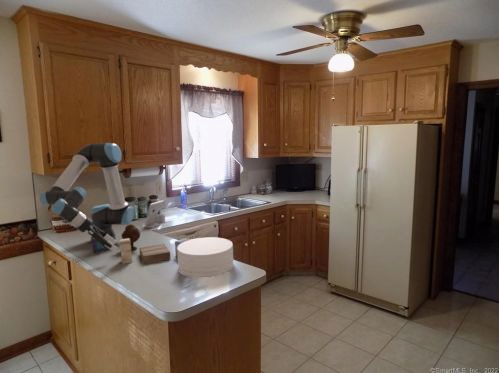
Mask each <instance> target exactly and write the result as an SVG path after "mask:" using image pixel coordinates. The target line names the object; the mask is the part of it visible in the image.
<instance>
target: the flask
mask: <svg viewBox="0 0 499 373" xmlns="http://www.w3.org/2000/svg"><path fill="white" fill-rule="evenodd" d="M91 243H92V251H93V254H99V253H100V254H101V253H103V252H107V251H109V250H110V249H109V248H108V247H106V246H105V245H104V246H102V244H101V243H99V242H98V241H97V240H96V239H95V238H92V242H91Z"/></svg>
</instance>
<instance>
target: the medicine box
mask: <svg viewBox="0 0 499 373" xmlns="http://www.w3.org/2000/svg"><path fill="white" fill-rule="evenodd" d="M188 240H191V239H190V238H187V237H184V238H181V239H179V240H176V241H174V249H175V252H174V253H175V257H177V258H178V251H177V247H178V245H179V244H181V243H183V242H185V241H188Z"/></svg>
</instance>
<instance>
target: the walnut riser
mask: <svg viewBox="0 0 499 373" xmlns="http://www.w3.org/2000/svg"><path fill="white" fill-rule="evenodd" d="M139 254H140V257H141V259H142V262H143V264H150V263H155V262H161V261H165V260H166V261H167V260H170V259H171V252H170V250H169V248H168V246H166V244H165V243H161V244H155V245H154V244H153V245H148V246H142V247H139Z"/></svg>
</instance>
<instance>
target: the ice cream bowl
mask: <svg viewBox="0 0 499 373" xmlns="http://www.w3.org/2000/svg"><path fill="white" fill-rule="evenodd" d="M140 237H141V232H140V229H138V227H136V225H134V224H131V223H129V224H127V225H126V226H125V229H124V230H123V232H122V234H121V239H127V238H130V242H131V252H133V251H135V250H137V249H138V248H137V247H136V246H134V243H136V242H137V241H138V240H139V239H140Z"/></svg>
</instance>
